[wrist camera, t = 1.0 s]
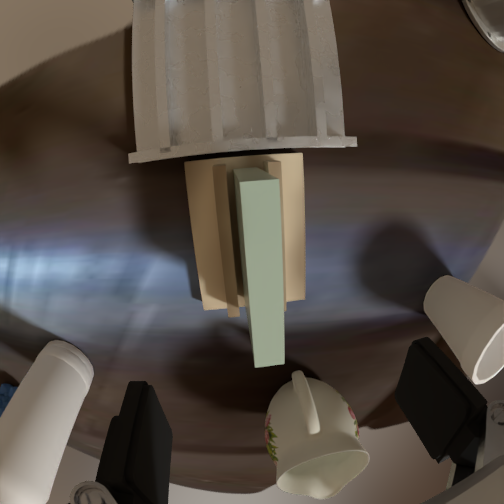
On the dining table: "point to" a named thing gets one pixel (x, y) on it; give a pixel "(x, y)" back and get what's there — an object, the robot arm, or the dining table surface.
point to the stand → (226, 229)
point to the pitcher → (313, 438)
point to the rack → (234, 77)
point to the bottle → (41, 422)
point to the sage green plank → (261, 262)
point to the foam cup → (468, 325)
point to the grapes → (6, 396)
